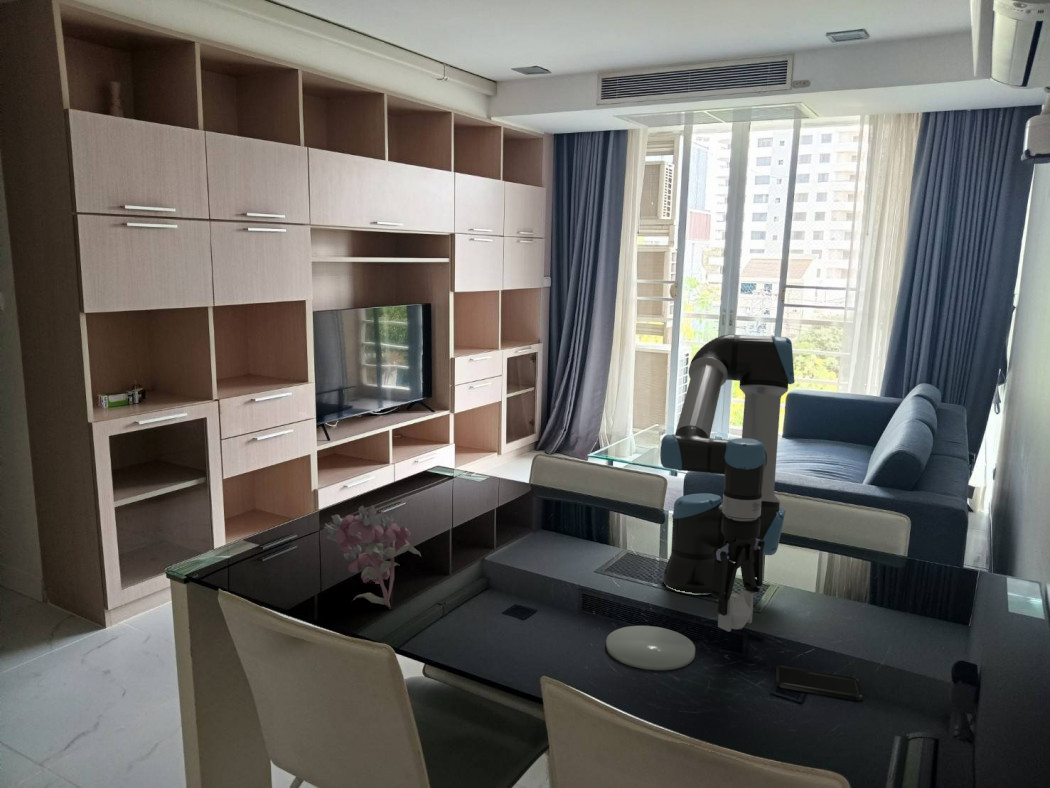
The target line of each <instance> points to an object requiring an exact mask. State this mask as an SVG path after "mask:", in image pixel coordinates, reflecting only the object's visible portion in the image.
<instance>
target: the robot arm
mask: <svg viewBox="0 0 1050 788" xmlns="http://www.w3.org/2000/svg"><path fill="white" fill-rule="evenodd" d="M793 355H794V354H793V342H792V341H791V339H790V338H788V337H786V336H777V335H772V334H770V335H762V334H761V335H751V334H747V335H746V334H730V333H729V334H725V335H724V334H723V335H720V336H718V337H715V338H713V339H711V340H710V341H708V342H707V343H705V344H703V345H702V347H700V348H699V349H698V350H697V352H696V353H695V355H694V356H693V357H692V359H691V361H690V364H689V367H688V377H689V382H688V386H687V390H686V393H685V397H684V401H683V404H682V408H681V411H680V415H679V419H678V422H677V426H676V430H675V433H673V434H665V435H664V436H663V438H662V439H661V443H660V444H661V445H660V459H659V460H660V464H661V466H662V467H663V468H664V469H669V470H674V471H675V470H676V471H678V472H679V471H682V472H684V471H685V472H692V473H693V472H695V473H696V472H697V473H706V474H707V473H708V474H713V475H714V474H716V475H724V476H723V477H724V478H723V479H724V484H723V494H722V497H721V496H720V495H718V494H713V493H709V492H708V493H707V492H706V493H703V492H702V493H691V494H686V495H682V496H680V497H678V498H677V499H675V501H674V504H673V510H672V511H673V513H672V517H671V518H672V531H671V551H670V556H669V558H668V561H667V562H666V563H667V564H666V566H665V569H664V571H663V573H662V582H663V581H664V583H665V584H666V585H668V586H669V587H671V588H673V589H676V590H680V591H685V592H692V593H711V595H710V596H711V597H714V598H716V599H717V600H718V601H717V612H718V613H717V614H718V619H717V620H718V621H717V627H718V628H720V629H722V630H724V631H726V632H731V631H732V628H731V622H732V604H733V600H731V599H730V596H731V594H732V591H733V587H734V584H735V580H736V575H737V571H738V569H739V568H740V573H741V577H742V578H741V579H742V584H743V588H740V593H739V594H740V595H742V596H744V598H745V602H746V603H747V605H748V606H749V607H750V608H751V615H750V617H749V619H748V621H747V622H746V623H748V624H752V623H753V613H754V610H753V609H754V603H755V593H760V590H761V588H759V587H762V585H763V566H764V561H763V560H764V559H763V558H764V556H773V555H775V554H776V553H777V551H778V549H779V544H780V540H781V535H782V531H783V526H784V520H785V515H786V509H784V508H782V507H780V503H781V501H780V500H779V498H778V497H777V496H776V495H775V483H776V473H777V471H776V470H777V469H776V468H777V467H776V466H777V456H778V440H779V439H778V438H779V428H780V427H779V426H780V415H781V414H780V412H781V399H782V396H784V394H786V393H787V392H789V391H788V390H789V385H792V384H793V385H794V383H795V382H796V381H795V371H794V368H795V367H794V356H793ZM726 381H739V386H738V387H739V389H740V390H741V392H743V394H744V401H743V402H744V404H743V417H742V429H741V430H742V431H741V438H740V437H739V438H733V439H725V438H723V439H722V438H712V437H711V434H712V429H713V424H714V420H715V416H716V410H717V406H718V401H719V397H720V392H721V388H722V386H724V384H725V383H726ZM710 437H711V438H710Z"/></svg>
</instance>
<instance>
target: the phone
mask: <svg viewBox="0 0 1050 788" xmlns="http://www.w3.org/2000/svg"><path fill="white" fill-rule="evenodd" d="M775 686H776V687H778V688H781V689H785V690H786V689H787V690H792V691H798V692H802V693H803V692H804V693H809V694H815V695H816V694H817V695H821V696H827V697H833V698H837V699H838V698H840V699H845V700H849V701H854V702H855V701H857V702H860V701H862V700H863V691H862V686H861V682H860V680H859V679H858V678H856V677H852V676H846V675H842V674H833V673H828V672H822V671H817V670H812V669H811V670H809V669H803V668H799V667H790V666H785V665H777V666H776V667H775Z"/></svg>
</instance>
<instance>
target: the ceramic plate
mask: <svg viewBox="0 0 1050 788" xmlns="http://www.w3.org/2000/svg"><path fill="white" fill-rule="evenodd" d="M605 647H606V651H607V652H608V654H609V655H610V656H611V657H612V658H613V659H615V660H617V661H618V662H620V663H622V664H624V665H627V666H630V667H633V668H637V669H642V670H650V671H669V670H670V671H671V670H676V669H677V670H678V669H680V668H681V669H682V668H683V667H686V666H688V665H689V664H691V663H692V662H693V661H694V659H695V657H696V646H695V644H694V642H693V641H692V640H691V639H689V638H688V637H687V636H685V635H684V634H682V633H680V632H678V631H674V630H671V629H668V628H664V627H660V626H651V625H631V626H630V625H629V626H623V627H621V628H618V629H615V630H613V631H612V632H610V633H609V634H608V635H607V637H606V643H605Z"/></svg>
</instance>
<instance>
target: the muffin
mask: <svg viewBox="0 0 1050 788" xmlns="http://www.w3.org/2000/svg"><path fill="white" fill-rule="evenodd" d="M740 594H741V593H731V596H730V599H731V600H733V604H732V622H731V630H732V629H733V630H742V629H743V628H744V627H745V625H746V624H747V623H748V622H747V621H748V619H749V617H750V615H751V608H750V607H749V606H748V605H747V603H746V602H745V598H744V596H742V595H740Z"/></svg>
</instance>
